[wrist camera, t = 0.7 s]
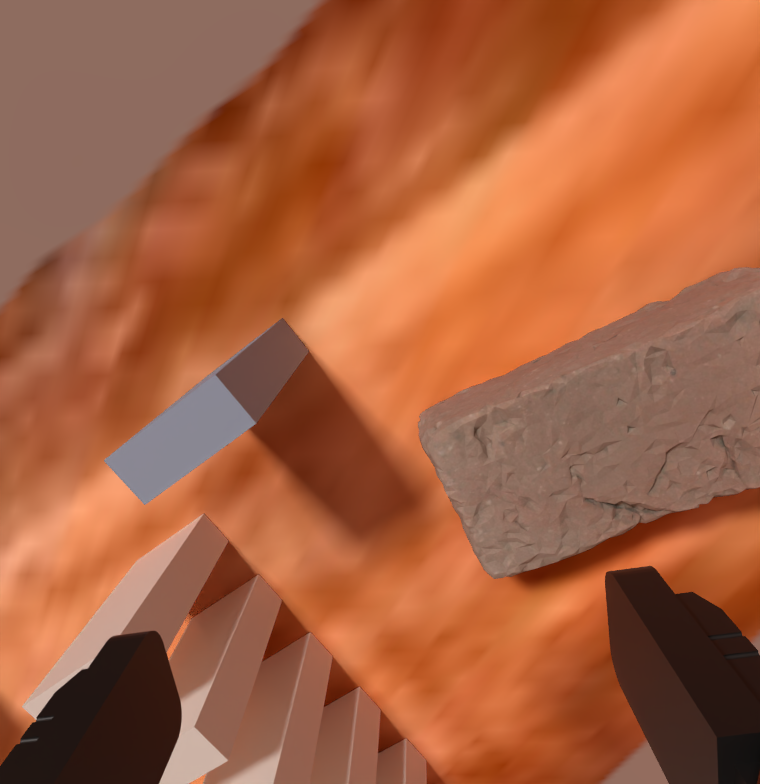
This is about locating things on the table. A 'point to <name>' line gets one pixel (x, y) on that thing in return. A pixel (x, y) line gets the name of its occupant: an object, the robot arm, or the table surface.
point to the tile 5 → (348, 741)
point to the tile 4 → (280, 719)
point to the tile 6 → (401, 765)
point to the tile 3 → (218, 676)
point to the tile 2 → (142, 602)
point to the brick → (607, 429)
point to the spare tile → (209, 414)
